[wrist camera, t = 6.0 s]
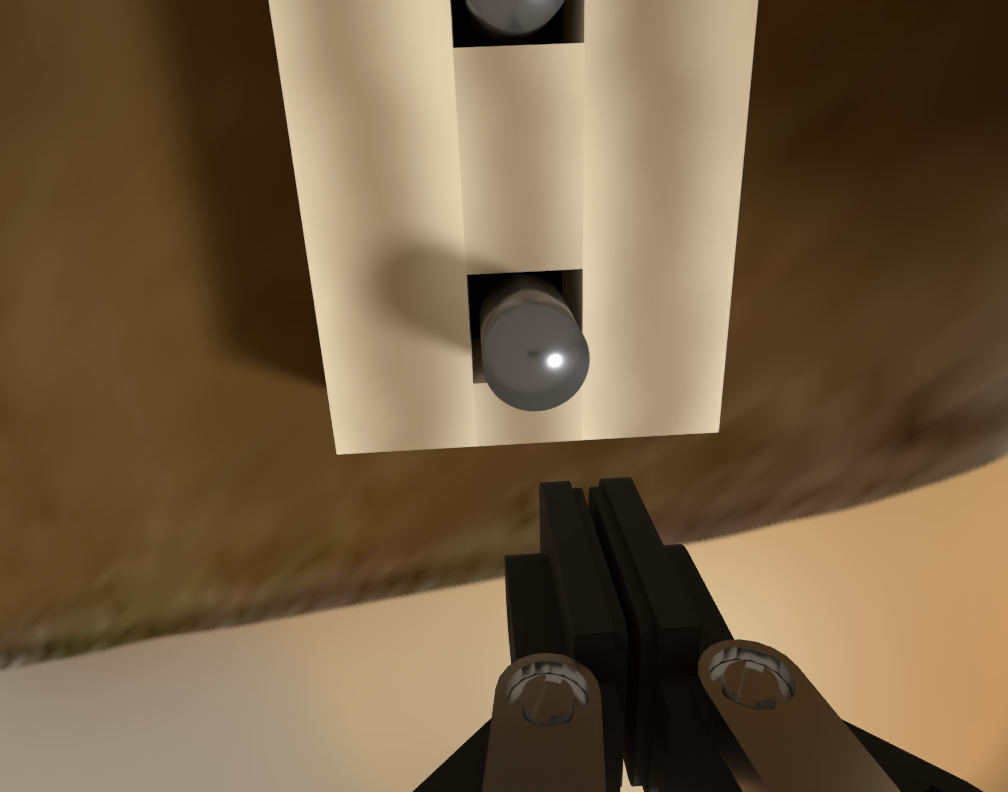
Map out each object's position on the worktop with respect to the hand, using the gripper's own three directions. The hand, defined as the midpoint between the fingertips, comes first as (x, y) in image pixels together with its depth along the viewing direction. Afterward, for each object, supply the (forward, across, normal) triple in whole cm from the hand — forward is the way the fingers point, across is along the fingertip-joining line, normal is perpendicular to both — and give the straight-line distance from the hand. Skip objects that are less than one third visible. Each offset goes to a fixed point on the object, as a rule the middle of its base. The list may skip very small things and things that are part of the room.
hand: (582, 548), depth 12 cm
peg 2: (+16, 0, 0) cm, 16 cm away
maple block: (+21, 0, -6) cm, 22 cm away
